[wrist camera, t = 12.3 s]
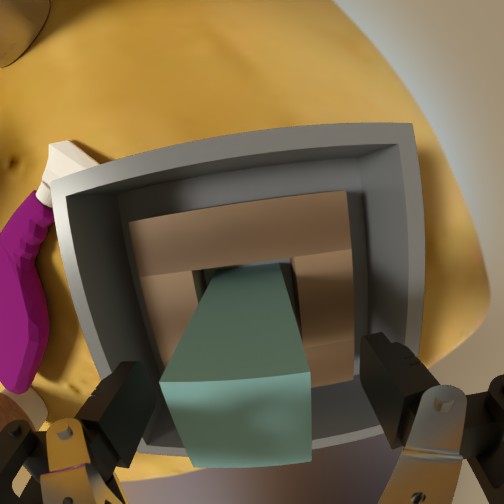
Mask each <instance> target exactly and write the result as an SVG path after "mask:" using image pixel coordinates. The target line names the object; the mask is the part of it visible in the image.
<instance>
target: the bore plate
mask: <svg viewBox="0 0 504 504" xmlns="http://www.w3.org/2000/svg"><path fill="white" fill-rule="evenodd" d="M128 223H129V228H130V234H131V239H132V245H133V250H134V255H135V259H136V264H137V269H138V273H139V278H140V282H141V286H142V290H143V295H144V299H145V303H146V306H147V310H148V314H149V318H150V321H151V325H152V329H153V332H154V336H155V339H156V342H157V346H158V349H159V352H160V355H161V359H162V362H163V365H164V368H165V369H166V367H167V365H168V363H169V361H170V359H171V357H172V355H173V353H174V351H175V349H176V347H177V345H178V343H179V341H180V339H181V337H182V335H183V333H184V331H185V329H186V327H187V325H188V323H189V322H190V320H191V318H192V316H193V314H194V312H195V310H196V308H197V306H198V304H199V302H200V300H201V298H202V297H203V295H204V293H205V291H206V289H207V285H206V280H205V274H204V269H208V268H216V267H224V266H232V265H239V264H247V263H254V262H262V261H269V260H277V259H284V258H290V263H291V272H292V281H293V290H294V300H295V310H296V320H297V326H298V330H299V333H300V337H301V340H302V344H303V347H304V351H305V354H306V358H307V362H308V365H309V369H310V376H311V388H313V387H319V386H324V385H330V384H335V383H340V382H345V381H350V380H353V374H354V285H353V264H352V249H351V236H350V224H349V214H348V204H347V195H346V190H338V191H324V192H315V193H306V194H298V195H289V196H281V197H274V198H266V199H259V200H251V201H244V202H237V203H231V204H224V205H218V206H211V207H205V208H199V209H193V210H187V211H181V212H175V213H170V214H164V215H159V216H153V217H148V218H144V219H139V220H135V221H131V222H128Z"/></svg>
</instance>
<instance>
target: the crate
mask: <svg viewBox="0 0 504 504" xmlns="http://www.w3.org/2000/svg"><path fill="white" fill-rule="evenodd" d="M50 188H51V197H52V205H53V212H54V219H55V225H56V231H57V236H58V242H59V247H60V252H61V256H62V261H63V265H64V270H65V274H66V278H67V282H68V286H69V289H70V293H71V296H72V300H73V303H74V307H75V310H76V313H77V316H78V320H79V323H80V326H81V329H82V332H83V334H84V337H85V340H86V343H87V346H88V348H89V351H90V353H91V356H92V359H93V361H94V364H95V366H96V369H97V371H98V373H99V376H100V378H101V380H103V379H104V378H106V377H107V376H108V375H110V374H111V373H113V372H114V370H115V369H116V368H117V366H118V365H119V364H120V362H122V361H140V362H142V364H143V365H144V368H145V370H146V373H147V376H148V378H149V381H150V383H151V386H152V388H153V391H154V393H155V398H156V404H155V409H154V411H153V413H152V415H151V418H150V420H149V422H148V425H147V427H146V429H145V431H144V434H143V436H142V438H141V441H140V443H139V445H138V448H137V450H138V452H139V453H146V454H156V455H167V456H182V457H189V456H188V454H187V452H186V449H185V447H184V445H183V443H182V440H181V438H180V436H179V433H178V431H177V429H176V426H175V424H174V421H173V419H172V416H171V414H170V411H169V408H168V406H167V403H166V400H165V398H164V395H163V392H162V389H161V387H160V384H159V381H160V379H161V377H162V375H163V373H164V371H165V368H164V365H163V362H162V359H161V355H160V352H159V349H158V346H157V342H156V339H155V336H154V332H153V329H152V325H151V321H150V318H149V314H148V310H147V306H146V303H145V299H144V295H143V290H142V286H141V282H140V278H139V273H138V269H137V264H136V259H135V255H134V250H133V245H132V239H131V234H130V228H129V223H128V222H131V221H135V220H139V219H144V218H148V217H153V216H159V215H164V214H170V213H175V212H181V211H187V210H193V209H199V208H205V207H211V206H218V205H224V204H231V203H237V202H244V201H251V200H259V199H266V198H274V197H281V196H289V195H298V194H306V193H315V192H324V191H338V190H346V195H347V204H348V214H349V224H350V236H351V249H352V264H353V285H354V374H353V380H350V381H345V382H340V383H335V384H330V385H324V386H319V387H313V388H311V418H312V449H316V448H322V447H327V446H333V445H338V444H342V443H347V442H351V441H355V440H360V439H364V438H367V437H371V436H375V435H379V434H382V433H384V431H383V429H382V427H381V425H380V423H379V420H378V418H377V416H376V414H375V412H374V410H373V408H372V406H371V404H370V402H369V400H368V398H367V396H366V394H365V392H364V390H363V387H362V385H361V381H360V373H359V370H360V340H361V337H362V336H365V335H369V334H374V333H378V332H383V333H384V335H385V336H386V337H387V338H388V339H389V341H390V342H391V343H393V342H399V343H401V344H403V345H405V346H407V347H408V348H409V349H410V350H411V351H412V352H413V353H414V354H415V357H417V358H418V353H419V346H420V338H421V329H422V319H423V306H424V289H425V226H424V208H423V196H422V185H421V176H420V168H419V161H418V154H417V147H416V141H415V136H414V130H413V125H412V123H340V124H321V125H307V126H295V127H285V128H275V129H267V130H259V131H251V132H244V133H237V134H231V135H225V136H219V137H213V138H207V139H202V140H197V141H192V142H187V143H182V144H177V145H173V146H168V147H164V148H160V149H155V150H151V151H147V152H143V153H139V154H136V155H132V156H128V157H124V158H121V159H117V160H114V161H110V162H107V163H104V164H100V165H97V166H94V167H91V168H88V169H85V170H82V171H79V172H76V173H73V174H70V175H67V176H64V177H61V178H59V179H56V180H53V181H51V182H50ZM271 263H279V265H280V269H281V272H282V275H283V279H284V282H285V285H286V289H287V292H288V296H289V299H290V302H291V306H292V309H293V313H294V316H295V319H296V310H295V300H294V290H293V281H292V272H291V263H290V258H284V259H277V260H269V261H262V262H254V263H247V264H239V265H232V266H224V267H216V268H208V269H204V274H205V280H206V285H207V287H208V285H209V283H210V281H211V280H212V278H213V276H214V274H215V272H216V270H220V269H228V268H237V267H246V266H254V265H263V264H271ZM296 323H297V320H296Z"/></svg>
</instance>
